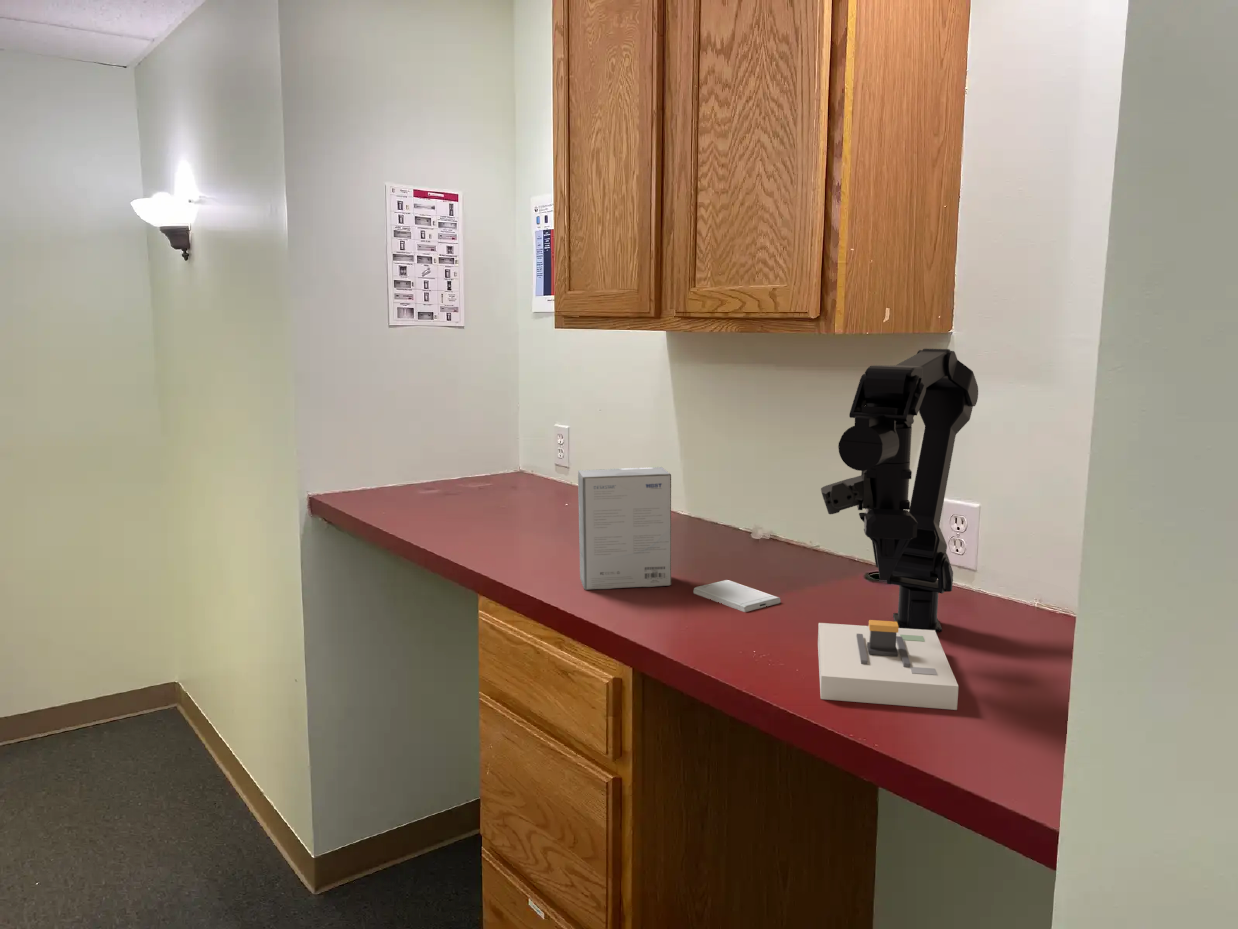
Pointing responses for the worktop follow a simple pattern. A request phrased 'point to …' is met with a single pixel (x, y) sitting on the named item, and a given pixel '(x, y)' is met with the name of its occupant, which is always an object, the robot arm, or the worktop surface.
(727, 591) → the hard drive
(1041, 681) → the worktop surface
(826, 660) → the breaker box
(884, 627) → the breaker toggle
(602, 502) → the hard drive box
